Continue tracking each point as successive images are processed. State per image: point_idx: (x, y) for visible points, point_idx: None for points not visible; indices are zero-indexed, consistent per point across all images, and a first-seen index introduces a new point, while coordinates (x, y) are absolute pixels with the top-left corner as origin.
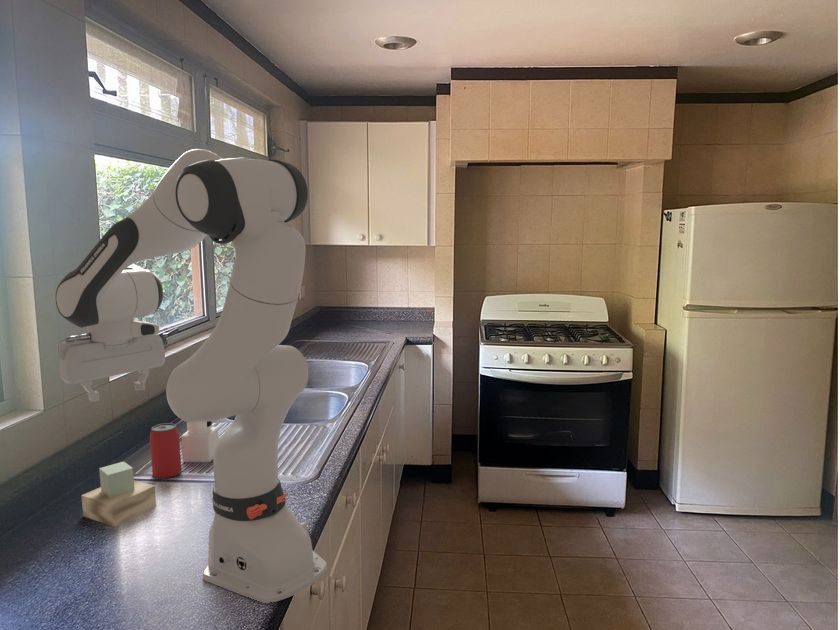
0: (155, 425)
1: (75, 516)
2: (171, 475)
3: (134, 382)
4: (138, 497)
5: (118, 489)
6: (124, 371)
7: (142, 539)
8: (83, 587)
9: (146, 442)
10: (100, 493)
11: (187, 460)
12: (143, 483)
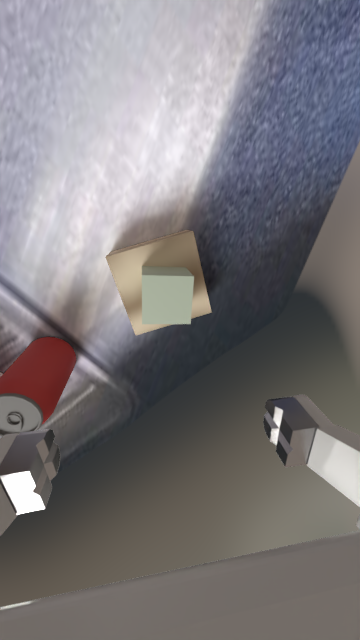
0: None
1: None
2: (50, 337)
3: (43, 504)
4: (142, 245)
5: (171, 268)
6: (125, 613)
7: (175, 145)
8: (300, 62)
9: None
10: None
11: None
12: (118, 283)
